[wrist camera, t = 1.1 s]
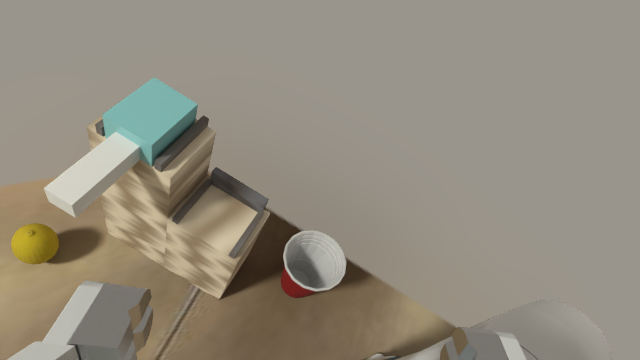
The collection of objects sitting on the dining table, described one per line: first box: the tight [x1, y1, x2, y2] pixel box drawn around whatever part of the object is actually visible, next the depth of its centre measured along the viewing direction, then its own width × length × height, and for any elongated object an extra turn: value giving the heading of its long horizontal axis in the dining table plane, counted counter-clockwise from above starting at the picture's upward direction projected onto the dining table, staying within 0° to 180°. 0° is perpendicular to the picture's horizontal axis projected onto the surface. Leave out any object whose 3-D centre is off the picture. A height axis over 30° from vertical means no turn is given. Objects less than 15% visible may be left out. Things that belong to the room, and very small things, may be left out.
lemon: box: [11, 223, 59, 264], centre depth 56 cm, size 6×6×8 cm
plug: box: [44, 78, 198, 218], centre depth 41 cm, size 6×17×4 cm, turn 155°
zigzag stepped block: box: [87, 116, 270, 300], centre depth 56 cm, size 22×9×30 cm, turn 65°
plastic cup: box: [281, 230, 346, 298], centre depth 66 cm, size 11×11×12 cm
